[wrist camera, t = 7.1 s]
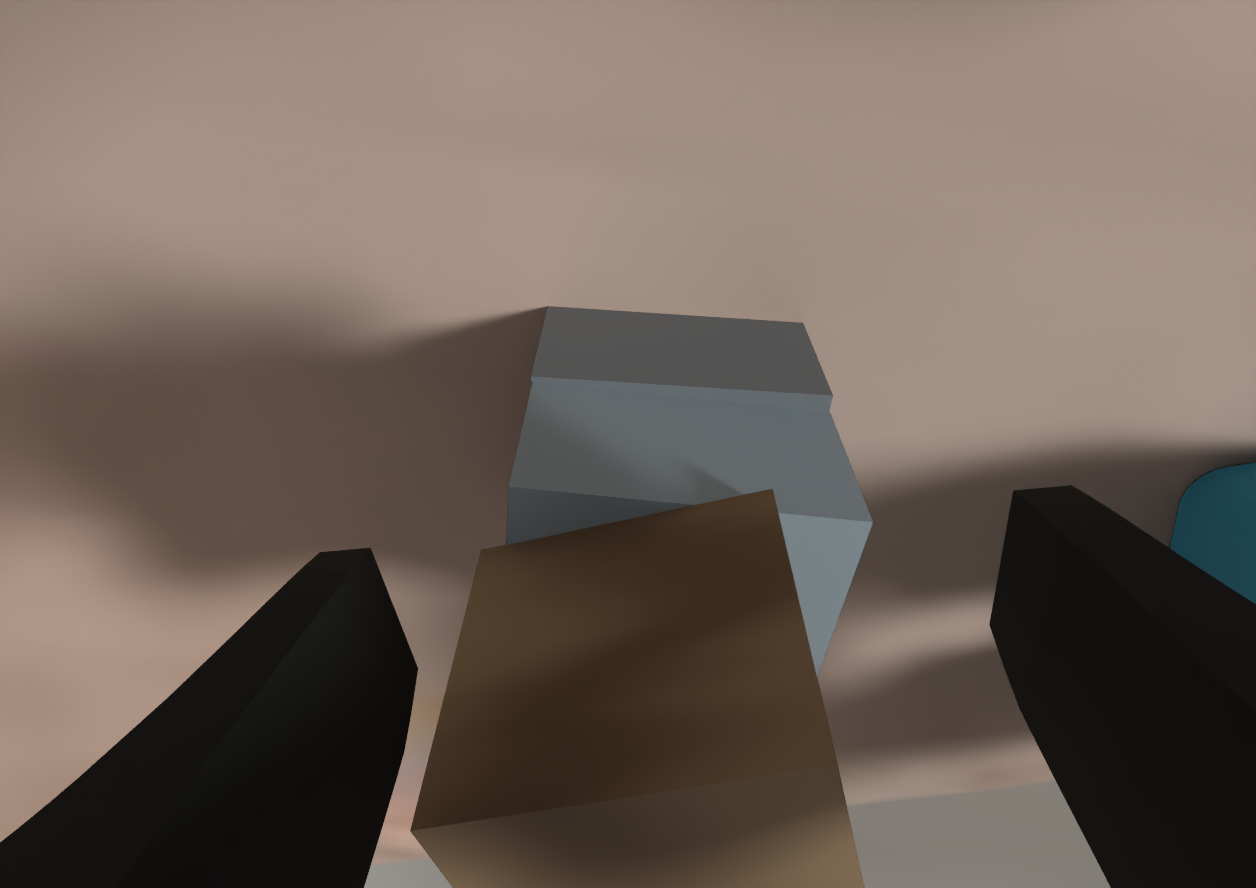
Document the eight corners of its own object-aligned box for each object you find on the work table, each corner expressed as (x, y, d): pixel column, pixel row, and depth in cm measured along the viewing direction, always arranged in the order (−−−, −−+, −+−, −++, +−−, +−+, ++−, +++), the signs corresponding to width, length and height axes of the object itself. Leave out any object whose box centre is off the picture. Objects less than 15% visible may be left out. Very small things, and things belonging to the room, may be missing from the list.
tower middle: (830, 412, 16) (873, 521, 13) (767, 623, 19) (791, 748, 16) (532, 381, 16) (508, 486, 13) (520, 600, 19) (499, 724, 16)
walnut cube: (772, 488, 13) (837, 765, 9) (817, 689, 15) (883, 976, 11) (481, 550, 14) (410, 830, 9) (571, 731, 16) (547, 1014, 12)
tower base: (802, 321, 19) (833, 395, 16) (762, 520, 22) (781, 612, 19) (547, 305, 19) (531, 376, 16) (545, 507, 22) (531, 598, 19)
